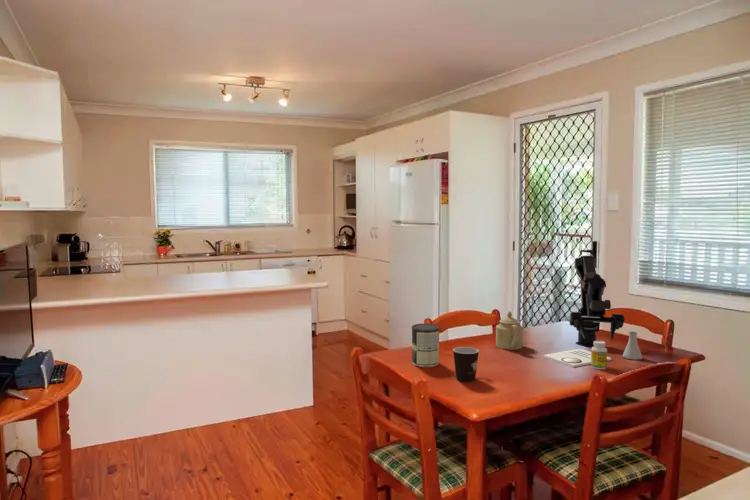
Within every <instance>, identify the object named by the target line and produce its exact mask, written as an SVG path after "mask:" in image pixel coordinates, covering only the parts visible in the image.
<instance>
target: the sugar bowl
mask: <svg viewBox="0 0 750 500" xmlns="http://www.w3.org/2000/svg"><path fill="white" fill-rule="evenodd" d="M512 316H513V314H512V311H508V312H507V316H506V317H503V318H502V319H500V320H499V324H496V325H495V346H496V347H497V348H498V349H500V350H501V349H502V350H508V351H510V350H511V351H513V350H521V349H523V347H524V346H523V345H524V327H523V326H522V325H520V323H521V322H520V320H518V319H517V318H514V317H512Z"/></svg>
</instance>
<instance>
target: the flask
mask: <svg viewBox="0 0 750 500" xmlns="http://www.w3.org/2000/svg"><path fill="white" fill-rule="evenodd" d="M628 334H629V336H628V342H627V344H626V346H625V348H624V351H623V354H622V357H623V358H625V359H627V360H637V361H638V360H642V359H643V355H642V353H641V350H640V347H639V344H638V339H637V338H638V337H637V335H638V332H636V331H628Z"/></svg>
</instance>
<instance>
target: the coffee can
mask: <svg viewBox="0 0 750 500" xmlns="http://www.w3.org/2000/svg"><path fill="white" fill-rule="evenodd" d="M439 332H440V326H439V325H437V324H433V323H416V324H413V325H412V326H411V353H412V354H411V364H412V365H414V366H416V367H419V368H432V367H436V366H438V365H439V364H440V362H439V361H440V357H439V355H440V353H439V352H440V333H439Z"/></svg>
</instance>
